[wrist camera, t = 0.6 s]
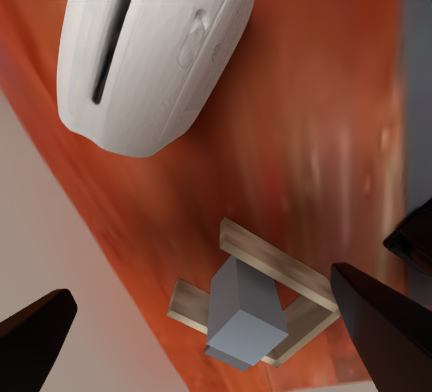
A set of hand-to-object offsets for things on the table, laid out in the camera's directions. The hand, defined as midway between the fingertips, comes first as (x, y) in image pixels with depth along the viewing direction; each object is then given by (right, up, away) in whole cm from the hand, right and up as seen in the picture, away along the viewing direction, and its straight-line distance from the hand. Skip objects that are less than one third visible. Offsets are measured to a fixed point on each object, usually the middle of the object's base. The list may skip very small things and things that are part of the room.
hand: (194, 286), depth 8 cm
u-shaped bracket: (+4, -6, +16) cm, 18 cm away
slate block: (+3, -5, +16) cm, 17 cm away
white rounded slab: (-1, +13, +9) cm, 16 cm away
